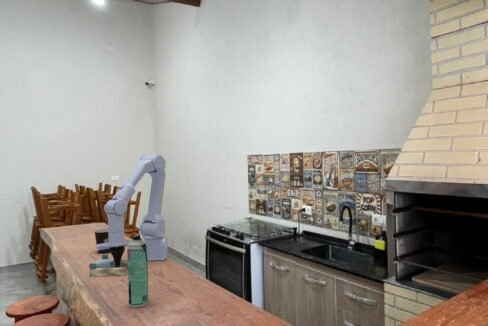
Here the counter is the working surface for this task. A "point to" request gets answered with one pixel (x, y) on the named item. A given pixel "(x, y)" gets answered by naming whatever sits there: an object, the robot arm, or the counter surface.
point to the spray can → (137, 272)
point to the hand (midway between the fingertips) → (117, 266)
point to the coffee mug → (102, 239)
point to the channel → (108, 269)
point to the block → (105, 263)
